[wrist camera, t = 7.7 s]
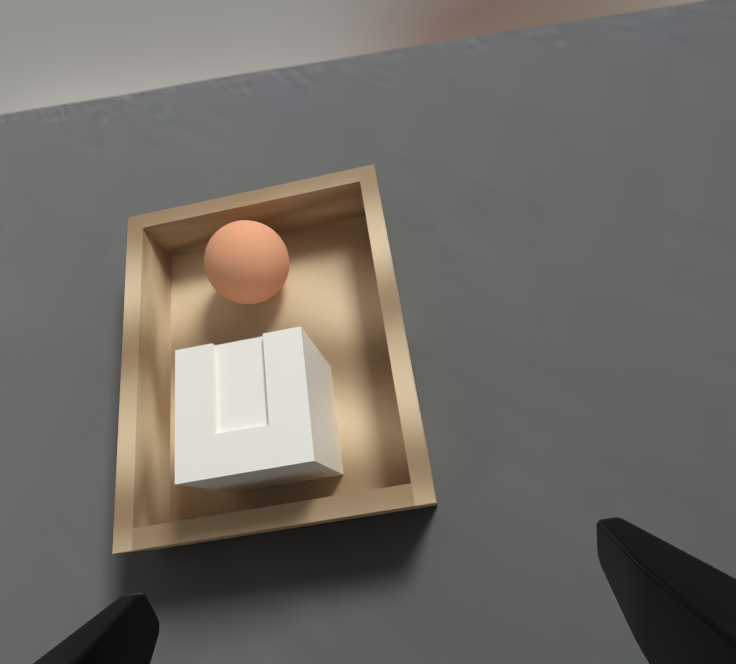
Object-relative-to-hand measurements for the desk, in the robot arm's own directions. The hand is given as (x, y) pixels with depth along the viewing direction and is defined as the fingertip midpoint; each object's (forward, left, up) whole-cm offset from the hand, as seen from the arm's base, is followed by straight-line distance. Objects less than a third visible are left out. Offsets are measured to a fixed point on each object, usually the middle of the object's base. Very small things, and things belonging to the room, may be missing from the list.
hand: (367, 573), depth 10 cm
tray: (+10, +3, -12) cm, 16 cm away
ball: (+14, +2, -9) cm, 17 cm away
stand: (+7, +3, -12) cm, 14 cm away
